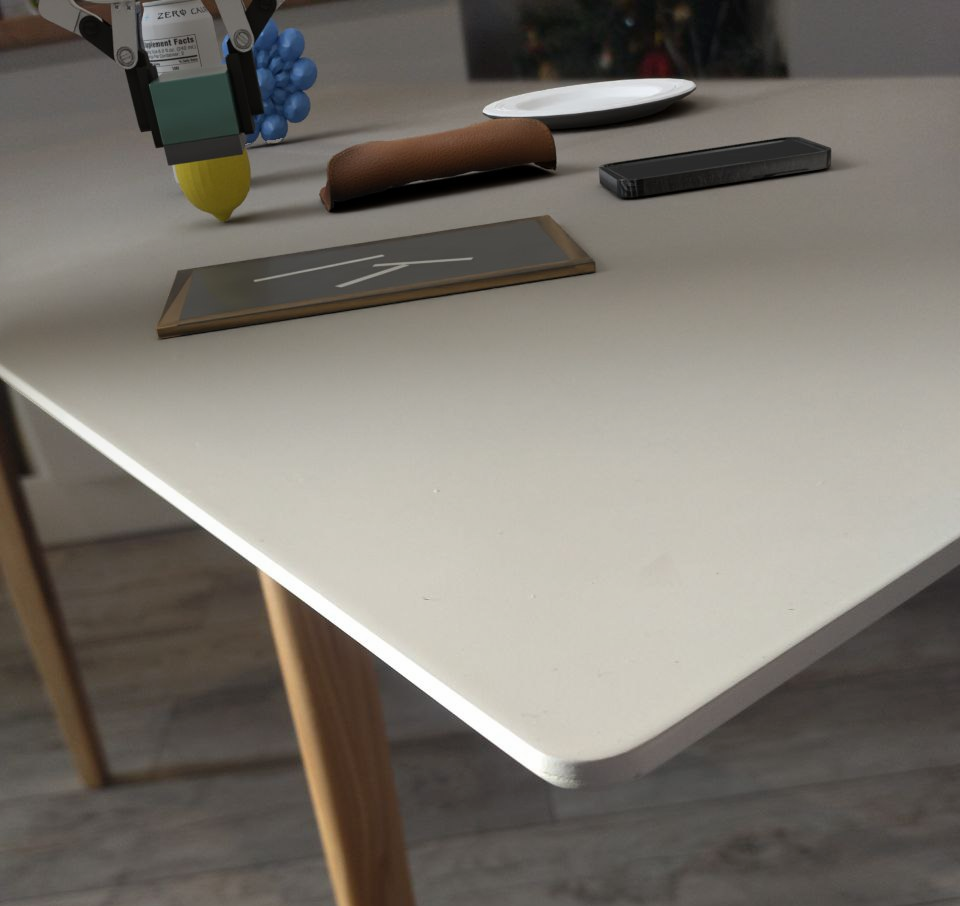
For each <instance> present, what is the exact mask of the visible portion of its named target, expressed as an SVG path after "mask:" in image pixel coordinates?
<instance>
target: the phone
mask: <svg viewBox="0 0 960 906" xmlns="http://www.w3.org/2000/svg"><path fill="white" fill-rule="evenodd" d="M829 167H832V148H831V147H829V146H828V145H824V144H821V143H818V142H816V141H813V140H810V139H807V138H805V137H801V136H784V137H783V136H782V137H777V138H770V139H764V140H763V139H762V140H757V141H750V142H743V143H736V144H729V145H723V146H716V147H710V148H703V149H696V150H695V149H694V150H689V151H682V152H676V153H671V154H670V153H669V154H662V155H656V156H649V157H643V158H642V157H641V158H635V159H627V160H621V161H615V162H609V163H604V164H601V165H599V166H598V178H599V184H600V185H601V186H603V187H604V188H605V189H607V190H608V191H610V192H611V193H612V194H614V195H615V196H617V197H619V198H638V197H645V196H650V195H652V196H653V195H657V194H665V193H672V192H678V191H686V190H691V189H697V188H705V187H712V186H717V185H723V184H724V185H725V184H732V183H737V182H745V181H750V180H751V181H752V180H759V179H763V178H771V177H777V176H785V175H791V174H797V173H805V172H810V171H819V170H823V169H827V168H829Z"/></svg>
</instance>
